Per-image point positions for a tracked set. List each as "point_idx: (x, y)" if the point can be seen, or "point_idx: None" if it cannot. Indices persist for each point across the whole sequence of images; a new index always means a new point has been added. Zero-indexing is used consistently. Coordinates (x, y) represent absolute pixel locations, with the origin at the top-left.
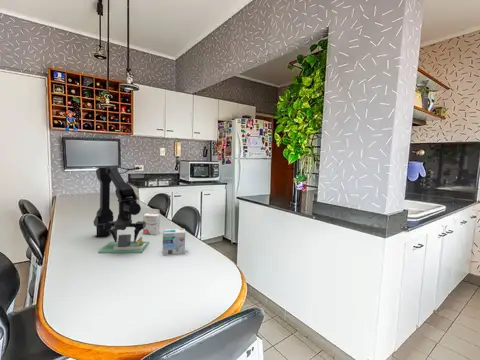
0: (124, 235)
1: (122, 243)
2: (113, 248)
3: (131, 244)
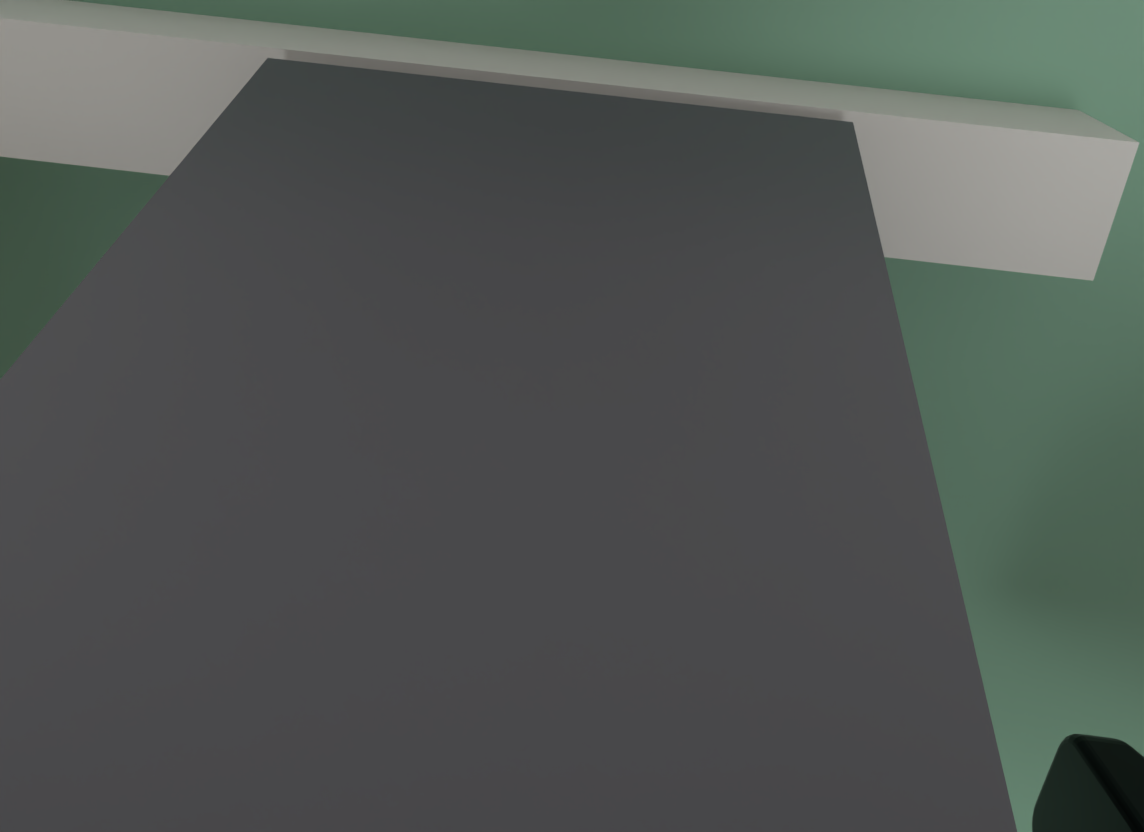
0: (90, 811)
1: (510, 204)
2: (1103, 131)
3: None
